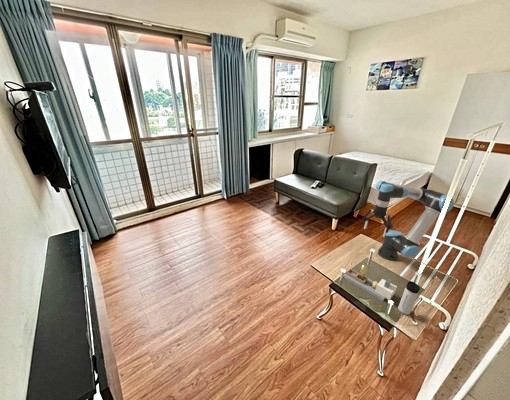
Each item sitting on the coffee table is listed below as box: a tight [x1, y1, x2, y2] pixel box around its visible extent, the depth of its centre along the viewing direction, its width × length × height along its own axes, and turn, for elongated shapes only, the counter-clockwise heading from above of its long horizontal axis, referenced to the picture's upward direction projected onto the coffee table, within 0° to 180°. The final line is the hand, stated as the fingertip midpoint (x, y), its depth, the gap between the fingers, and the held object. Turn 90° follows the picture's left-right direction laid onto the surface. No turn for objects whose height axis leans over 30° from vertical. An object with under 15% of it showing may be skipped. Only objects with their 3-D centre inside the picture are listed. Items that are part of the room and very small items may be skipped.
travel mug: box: [397, 280, 421, 316], centre depth 129 cm, size 6×7×20 cm
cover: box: [375, 277, 398, 301], centre depth 142 cm, size 9×9×10 cm
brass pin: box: [359, 263, 368, 281], centre depth 152 cm, size 4×4×12 cm
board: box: [342, 268, 386, 302], centre depth 152 cm, size 12×28×6 cm, turn 41°
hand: (374, 232), depth 160 cm, fingers open, 13 cm apart
